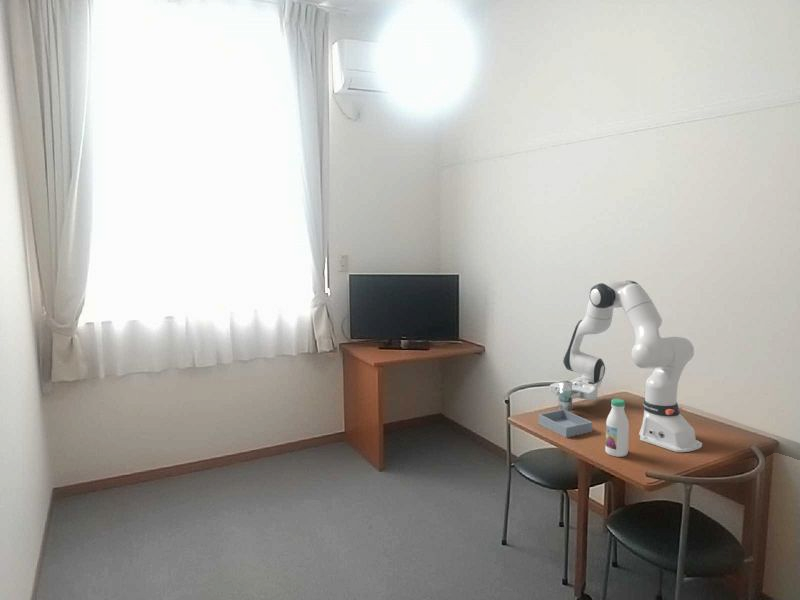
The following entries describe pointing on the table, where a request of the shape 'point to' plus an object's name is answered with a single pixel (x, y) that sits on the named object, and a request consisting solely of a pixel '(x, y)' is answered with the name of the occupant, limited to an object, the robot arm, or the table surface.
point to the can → (565, 395)
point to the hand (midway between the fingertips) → (564, 395)
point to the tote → (565, 423)
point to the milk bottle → (617, 430)
